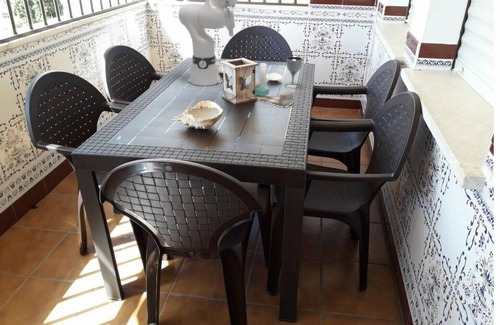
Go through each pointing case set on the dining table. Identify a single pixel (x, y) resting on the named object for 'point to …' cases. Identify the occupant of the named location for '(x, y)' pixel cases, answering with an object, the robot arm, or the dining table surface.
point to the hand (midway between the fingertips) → (230, 31)
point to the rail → (276, 98)
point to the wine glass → (294, 65)
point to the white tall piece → (262, 81)
